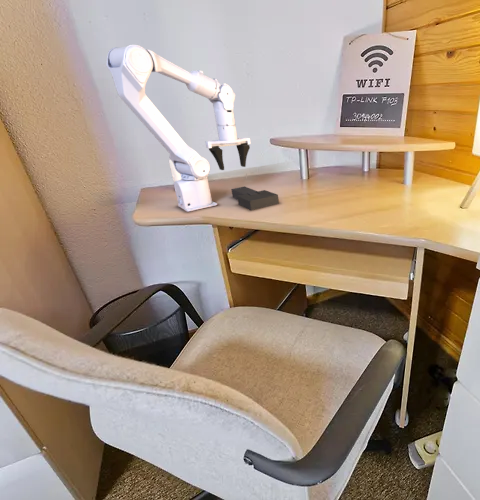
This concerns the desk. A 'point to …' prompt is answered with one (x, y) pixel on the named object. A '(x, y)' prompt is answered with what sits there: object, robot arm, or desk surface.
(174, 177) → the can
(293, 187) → the desk surface
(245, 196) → the notch pad
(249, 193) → the tab pad
